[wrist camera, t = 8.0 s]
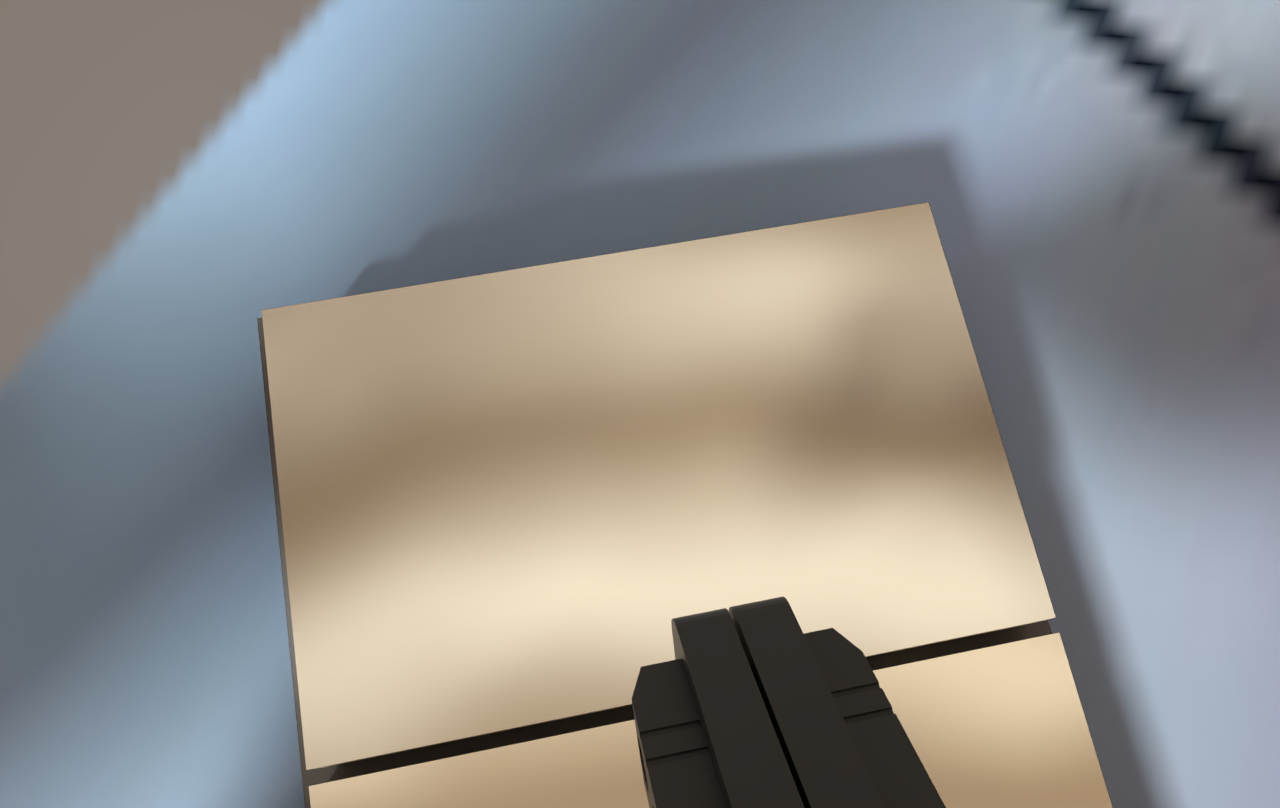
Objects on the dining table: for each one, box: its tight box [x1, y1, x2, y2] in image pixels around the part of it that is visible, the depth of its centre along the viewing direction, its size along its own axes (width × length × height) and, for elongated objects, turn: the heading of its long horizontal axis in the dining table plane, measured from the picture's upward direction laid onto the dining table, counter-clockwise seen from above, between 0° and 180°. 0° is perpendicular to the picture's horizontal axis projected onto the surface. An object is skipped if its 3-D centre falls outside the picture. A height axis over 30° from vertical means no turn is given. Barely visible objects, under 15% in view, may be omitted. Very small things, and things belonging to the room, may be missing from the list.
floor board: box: [257, 318, 1113, 808], centre depth 23 cm, size 20×16×4 cm
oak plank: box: [262, 203, 1056, 770], centre depth 22 cm, size 10×15×2 cm, turn 101°
